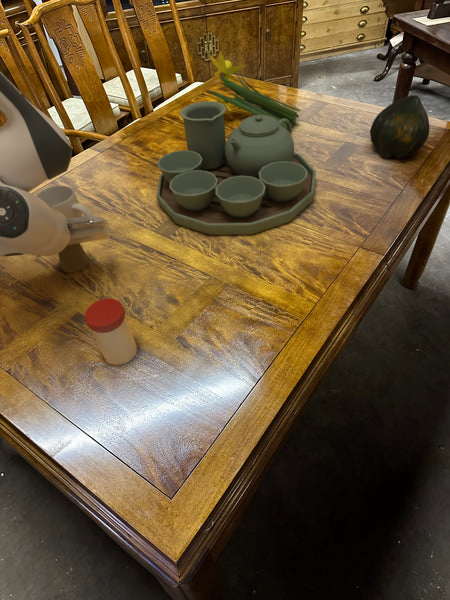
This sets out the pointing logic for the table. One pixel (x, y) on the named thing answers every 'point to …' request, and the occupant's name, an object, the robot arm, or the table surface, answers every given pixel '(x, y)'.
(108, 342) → the jam jar
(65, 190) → the mug
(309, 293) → the table surface
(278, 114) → the daffodil flowers
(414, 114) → the squash
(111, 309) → the jam jar lid
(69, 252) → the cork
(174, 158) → the tea set
